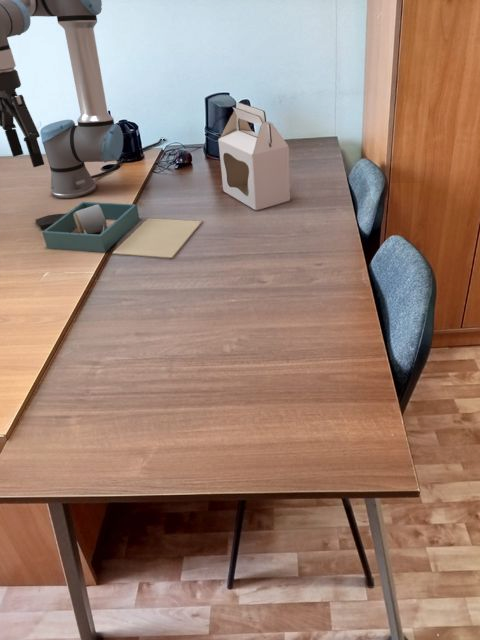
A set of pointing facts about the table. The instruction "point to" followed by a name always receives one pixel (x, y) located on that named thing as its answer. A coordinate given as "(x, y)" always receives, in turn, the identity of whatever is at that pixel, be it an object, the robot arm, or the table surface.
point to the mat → (158, 238)
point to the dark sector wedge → (48, 220)
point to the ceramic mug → (90, 220)
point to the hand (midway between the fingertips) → (28, 160)
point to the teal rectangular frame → (62, 239)
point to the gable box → (254, 160)
